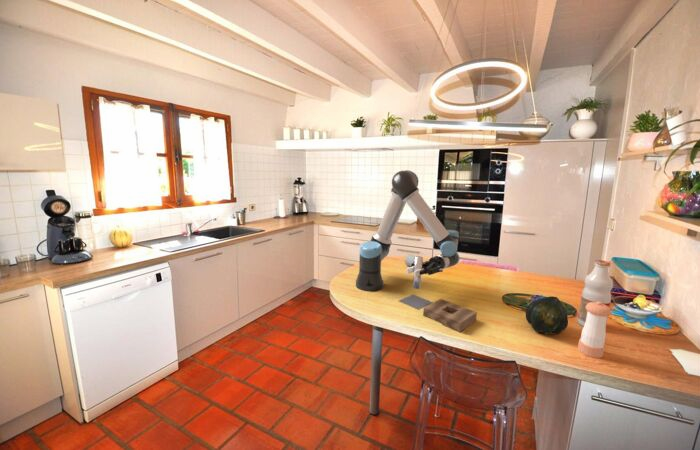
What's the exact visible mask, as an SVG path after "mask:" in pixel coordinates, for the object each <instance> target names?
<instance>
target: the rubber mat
mask: <svg viewBox="0 0 700 450" xmlns="http://www.w3.org/2000/svg"><path fill="white" fill-rule="evenodd" d="M398 302H399V303H402V304H403V305H406V306H408V307H410V308H411V307H412V309H415V310H419V311H420V310H422V309H424V307H426V306H428V305H430V304H432V303H434V302H433V301H431V300H428V299H427V298H426V299H425V298H423V297H420V296H418V295H416V294H411V295H409V296H406V297H403V298H401V299H399V300H398Z"/></svg>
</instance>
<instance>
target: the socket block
mask: <svg viewBox="0 0 700 450" xmlns="http://www.w3.org/2000/svg"><path fill="white" fill-rule="evenodd" d="M477 313H478V312H477V311H475V310H472V309H470V308H467V307H464V306H461V305H458V304H456V303H453V302H450V301H448V300H445V299H443V298H440V299H438V300H436V301H434V302H433V303H431V304H429V305H427V306H425V307H423V314H422V316H423V317H425V318H427V319H430V320H432V321H435V322H437V323H439V324H441V325H442V326H444V327H447V328H449V329H450V330H454V331H456V332H458V333H460V332H462V331H463V330H465V329H466V328H467V327H470V326H471V325H472V324H473V323H476V320H477Z"/></svg>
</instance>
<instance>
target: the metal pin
mask: <svg viewBox="0 0 700 450" xmlns="http://www.w3.org/2000/svg"><path fill="white" fill-rule="evenodd" d="M414 256H415V262H414V271H415V270H418V269H421V268H422V261H423V262H424V258H423V256H419V255H414ZM412 279H413V280H412V288H413V289H415V290H416V289H417V290H420V289H421V285H422V275H419V276H416V277H414V274H413V278H412Z"/></svg>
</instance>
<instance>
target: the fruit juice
mask: <svg viewBox="0 0 700 450" xmlns="http://www.w3.org/2000/svg"><path fill="white" fill-rule="evenodd" d="M593 264H594V267H593V269H592V270H591V272H590V273H589V274H587V275H586V276H585V278H584V288H583V289H582V292H581V296H580V302H579V308H578V314H577V324H578V325H581V327H582V328H583V327H584V325H585V322H586V318H587V312H588V311H587V310H586V305H587V304H588V303H590V302H601V303H602V304H604V305H606V306H608V307H609V308H610V306H611V302H612V294H611V291H612V290H613V287H614V281H613V279H612V278H611V277H610V274H609V268H610V266H611V262H610V261H606V260H601V259H595V260H594V263H593ZM608 318H609V316H607V319H608ZM607 322H608V321H607ZM607 322H606V324H607Z"/></svg>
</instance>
